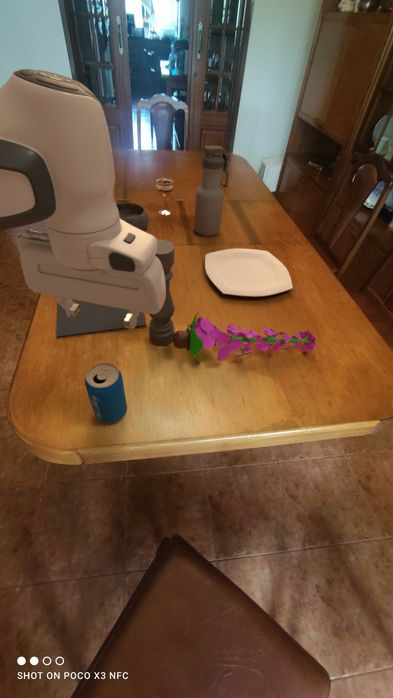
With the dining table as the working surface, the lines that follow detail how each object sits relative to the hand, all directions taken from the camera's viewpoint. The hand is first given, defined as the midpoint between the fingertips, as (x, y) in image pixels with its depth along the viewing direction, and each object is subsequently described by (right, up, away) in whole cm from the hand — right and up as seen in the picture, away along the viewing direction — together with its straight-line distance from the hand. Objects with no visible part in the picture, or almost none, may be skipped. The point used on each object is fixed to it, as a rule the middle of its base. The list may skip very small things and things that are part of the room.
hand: (102, 320), depth 51 cm
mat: (-11, +6, +35) cm, 37 cm away
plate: (+31, +19, +52) cm, 63 cm away
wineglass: (+2, +52, +80) cm, 95 cm away
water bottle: (+19, +41, +71) cm, 84 cm away
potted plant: (+27, -5, +29) cm, 39 cm away
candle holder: (+6, -2, +29) cm, 30 cm away
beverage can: (-2, -17, +14) cm, 22 cm away
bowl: (-10, +36, +64) cm, 73 cm away
